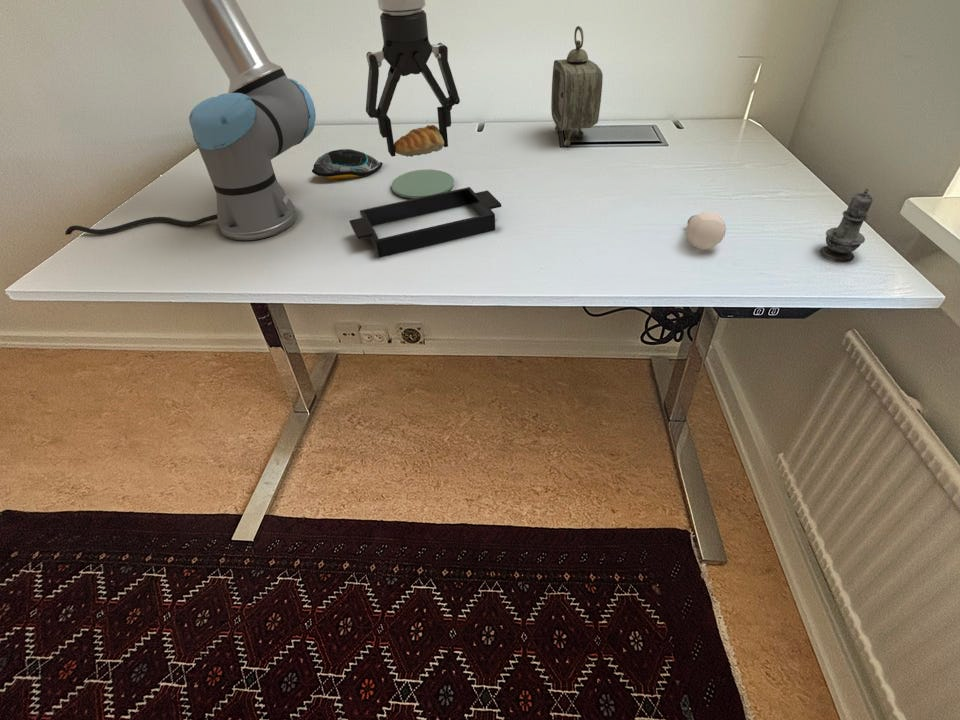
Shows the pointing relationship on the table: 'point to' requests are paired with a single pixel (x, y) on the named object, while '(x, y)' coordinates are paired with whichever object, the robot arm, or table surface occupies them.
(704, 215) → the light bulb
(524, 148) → the table surface
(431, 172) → the plate
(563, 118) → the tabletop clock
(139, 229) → the table surface
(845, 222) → the grey chess piece
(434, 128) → the pastry
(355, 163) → the black domed oval piece
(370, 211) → the pan
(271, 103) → the robot arm
